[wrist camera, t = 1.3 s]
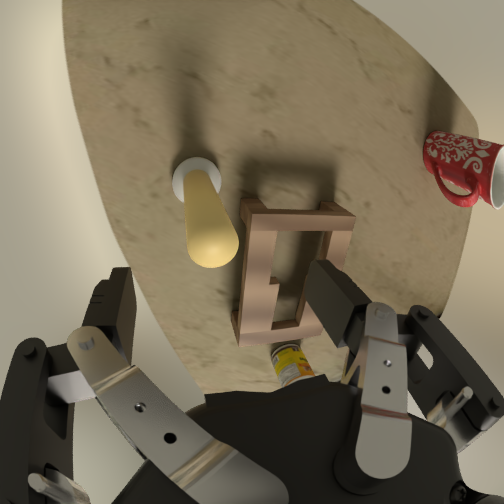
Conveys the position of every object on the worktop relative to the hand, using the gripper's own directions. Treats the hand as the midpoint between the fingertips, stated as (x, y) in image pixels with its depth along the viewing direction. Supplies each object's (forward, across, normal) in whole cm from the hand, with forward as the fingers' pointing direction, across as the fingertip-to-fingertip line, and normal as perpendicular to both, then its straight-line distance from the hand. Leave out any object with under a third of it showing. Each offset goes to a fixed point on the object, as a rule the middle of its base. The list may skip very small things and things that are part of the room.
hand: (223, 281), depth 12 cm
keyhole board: (+19, -11, +11) cm, 24 cm away
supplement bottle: (+19, -15, +29) cm, 38 cm away
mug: (+19, -34, -7) cm, 40 cm away
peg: (+19, 0, 0) cm, 19 cm away
